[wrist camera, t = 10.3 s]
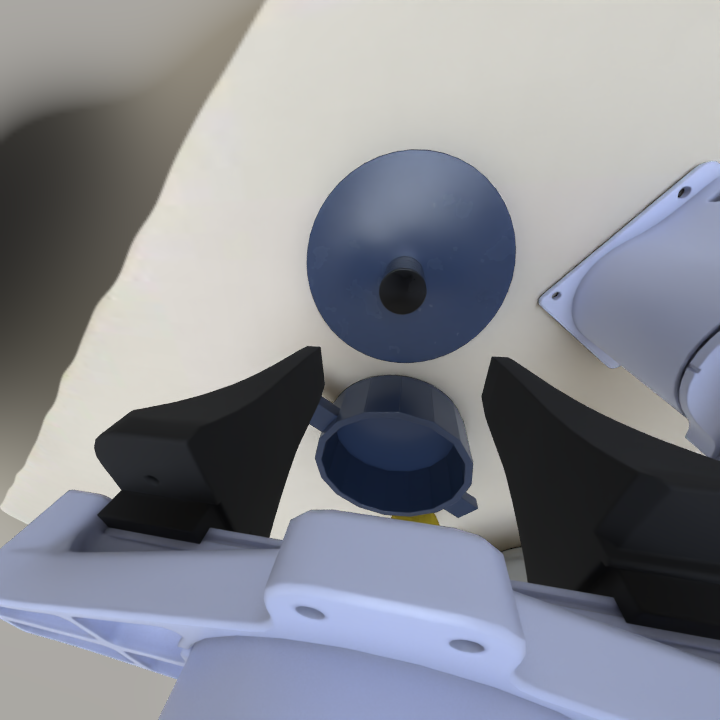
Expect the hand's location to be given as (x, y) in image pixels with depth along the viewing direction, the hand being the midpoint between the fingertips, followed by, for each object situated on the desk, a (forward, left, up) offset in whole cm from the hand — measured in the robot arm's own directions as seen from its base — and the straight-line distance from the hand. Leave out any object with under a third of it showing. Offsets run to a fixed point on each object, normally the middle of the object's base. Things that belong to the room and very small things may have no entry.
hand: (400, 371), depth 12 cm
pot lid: (-2, -1, -9) cm, 9 cm away
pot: (+10, +8, -10) cm, 16 cm away
